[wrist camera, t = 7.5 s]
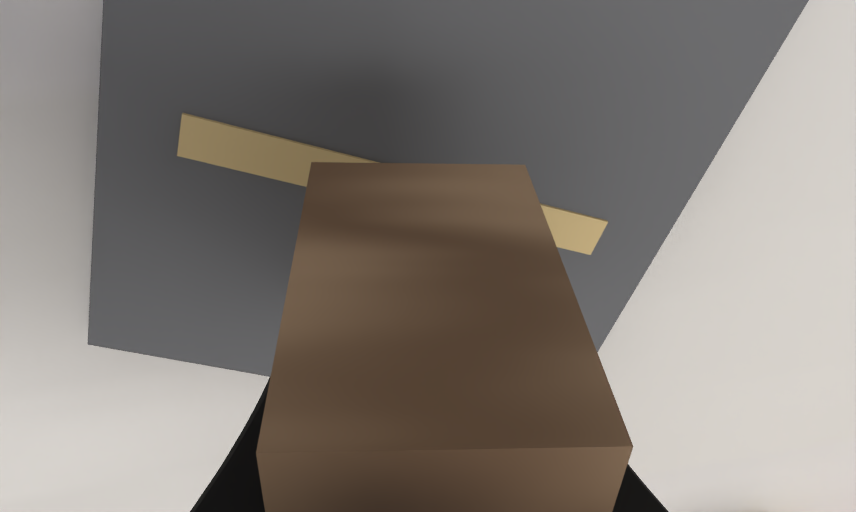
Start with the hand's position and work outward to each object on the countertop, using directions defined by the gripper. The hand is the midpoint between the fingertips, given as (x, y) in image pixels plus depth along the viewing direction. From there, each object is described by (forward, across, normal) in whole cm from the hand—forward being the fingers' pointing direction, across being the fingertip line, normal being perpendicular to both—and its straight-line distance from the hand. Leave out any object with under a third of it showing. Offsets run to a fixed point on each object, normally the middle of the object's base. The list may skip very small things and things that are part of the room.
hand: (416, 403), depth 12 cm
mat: (+8, 0, 0) cm, 8 cm away
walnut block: (+2, 0, 0) cm, 2 cm away
